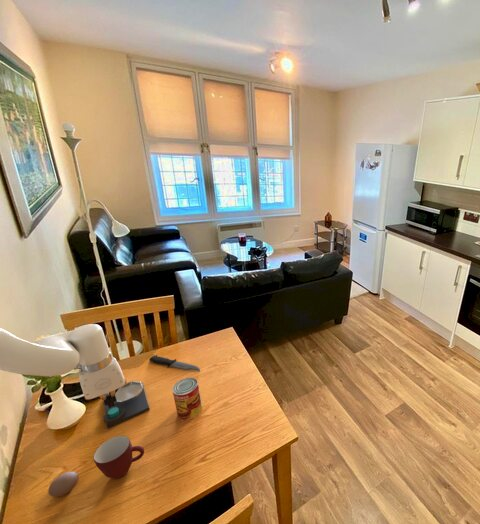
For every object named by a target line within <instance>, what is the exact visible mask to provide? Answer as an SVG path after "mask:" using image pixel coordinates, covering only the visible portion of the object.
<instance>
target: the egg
mask: <svg viewBox="0 0 480 524" xmlns="http://www.w3.org/2000/svg"><path fill="white" fill-rule="evenodd" d="M78 482H79V474H78V473H77V471H66V472H64V473H62V474H60V475H58V476H56V478H55V479H53V481H52V482H51V483H50V484H49V487H48V489H47V490H48V494H49V496H51V497H54V498H59V497H63V496H64V495H66V494H68V493H70V492H71V491H72V490H73V489H74V488H75V487H76V485H77V484H78Z"/></svg>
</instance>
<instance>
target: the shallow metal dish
mask: <svg viewBox="0 0 480 524" xmlns="http://www.w3.org/2000/svg"><path fill="white" fill-rule="evenodd" d="M142 383H143V382H142V381H138V380H130V381H127V384H126V385H124V386H123V387H120V388H119V390H118V391H117V392H116V393H115V396H116V399H117V401H116V402H115V403H120V404H122V403H125V402H128V401H131V400H133V399H135V398H136V397H137V396H138V395H139V394H140V393H141V392H142V391H143V387H144V385H143V386H142Z"/></svg>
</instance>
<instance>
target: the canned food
mask: <svg viewBox="0 0 480 524" xmlns="http://www.w3.org/2000/svg"><path fill="white" fill-rule="evenodd" d="M171 391H172V395H173V400H174V404H175V409H176V414H177V417H178V418H179V420H181V421H189V420H192V419H194V418H196V417H197V416H198V415H199V414H200V413H201V412H202V410H203V402H202V396H201V391H200V386H199V381H198V379H197V378H195V377H190V376H189V377H185V378H182V379H180V380H178V381H176V382H175V383H174V385H173V386H172V389H171Z"/></svg>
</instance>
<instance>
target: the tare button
mask: <svg viewBox="0 0 480 524" xmlns="http://www.w3.org/2000/svg"><path fill="white" fill-rule="evenodd" d="M108 415H109V417H110V418H114V417H116V416H117V415H119V409H118V408H117V407H115V408H112V409H110V410H109V411H108Z"/></svg>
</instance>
